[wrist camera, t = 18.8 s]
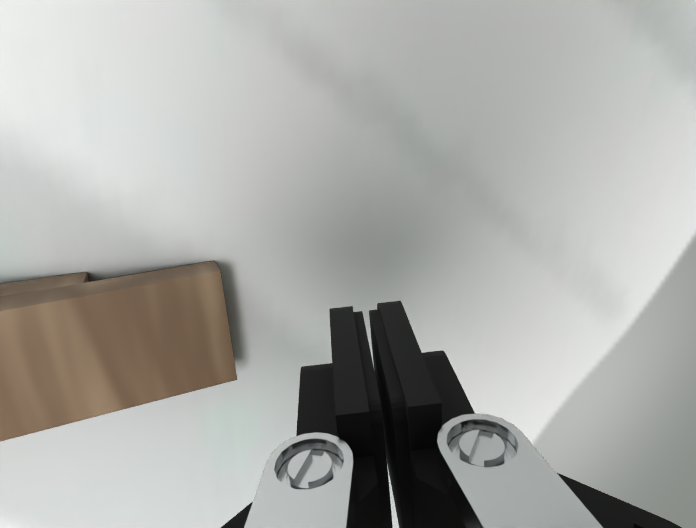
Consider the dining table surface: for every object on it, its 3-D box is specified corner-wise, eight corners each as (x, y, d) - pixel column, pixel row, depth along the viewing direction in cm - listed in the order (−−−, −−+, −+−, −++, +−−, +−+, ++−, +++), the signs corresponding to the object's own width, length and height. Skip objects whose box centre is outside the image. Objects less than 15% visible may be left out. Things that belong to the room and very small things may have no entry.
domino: (220, 271, 20) (-84, 326, 16) (237, 379, 21) (-37, 451, 18) (214, 260, 21) (-64, 307, 18) (230, 361, 23) (-23, 423, 19)
